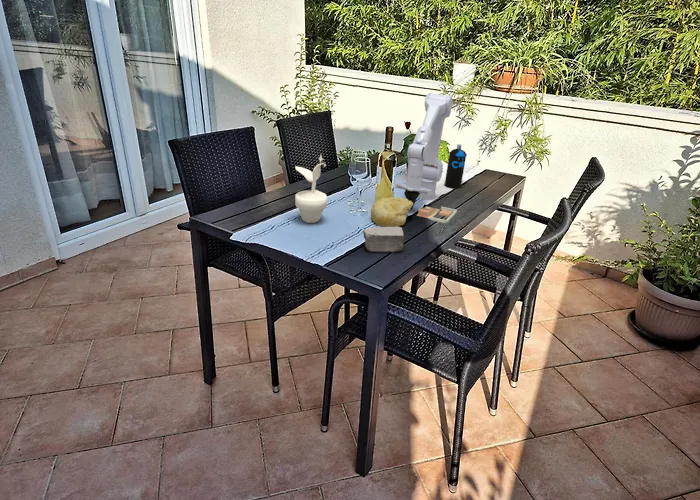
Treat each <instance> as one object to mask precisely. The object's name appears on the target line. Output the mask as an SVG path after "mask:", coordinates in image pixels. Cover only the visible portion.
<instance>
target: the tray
mask: <svg viewBox="0 0 700 500" xmlns="http://www.w3.org/2000/svg"><path fill="white" fill-rule="evenodd" d="M440 210H441V211H442V210H446V211H450V212H452V214H451V215H450V216H449V217H447V219H442V218H438V217H434V216H433V217H430V219H429V221H434V222H438V223H443V224H445V225H446V224H448V223H449V221H451V220H452V218H453V217H454V216H455V215H456V214H457V212H458V209H455V208H451V207H450V208H449V207H445V206H440Z"/></svg>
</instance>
